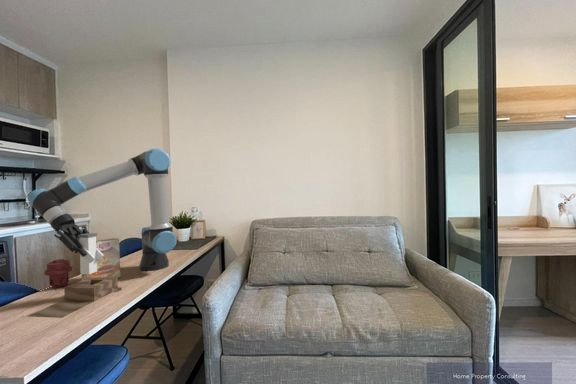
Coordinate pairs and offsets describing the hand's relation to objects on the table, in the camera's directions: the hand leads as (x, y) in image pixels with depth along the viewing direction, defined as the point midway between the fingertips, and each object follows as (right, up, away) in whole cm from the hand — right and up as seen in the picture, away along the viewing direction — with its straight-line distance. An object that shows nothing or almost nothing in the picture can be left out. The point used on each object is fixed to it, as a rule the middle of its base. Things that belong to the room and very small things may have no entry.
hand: (96, 259), depth 119 cm
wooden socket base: (-3, -16, -5) cm, 17 cm away
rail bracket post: (-4, -6, +1) cm, 7 cm away
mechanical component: (-28, -16, +15) cm, 36 cm away
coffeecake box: (-13, -16, +24) cm, 31 cm away
